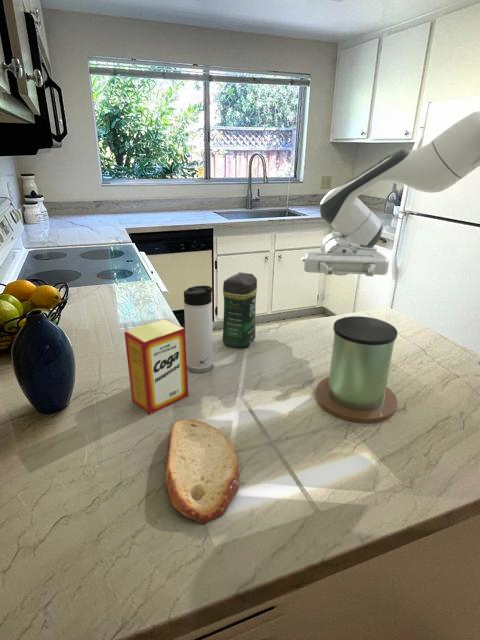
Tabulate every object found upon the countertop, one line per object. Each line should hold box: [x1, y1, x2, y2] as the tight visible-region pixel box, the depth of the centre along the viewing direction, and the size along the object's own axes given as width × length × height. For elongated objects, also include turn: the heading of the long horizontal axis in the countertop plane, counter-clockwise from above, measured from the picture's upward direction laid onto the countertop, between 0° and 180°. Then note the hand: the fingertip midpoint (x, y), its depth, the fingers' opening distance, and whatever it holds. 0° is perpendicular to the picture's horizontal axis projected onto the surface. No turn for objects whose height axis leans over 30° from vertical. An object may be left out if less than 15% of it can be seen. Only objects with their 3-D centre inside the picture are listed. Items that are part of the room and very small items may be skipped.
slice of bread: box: [165, 419, 240, 524], centre depth 65 cm, size 18×18×4 cm
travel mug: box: [183, 285, 214, 374], centre depth 92 cm, size 6×7×20 cm
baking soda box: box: [123, 318, 189, 415], centre depth 81 cm, size 10×6×16 cm
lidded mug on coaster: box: [314, 315, 398, 424], centre depth 80 cm, size 16×18×16 cm
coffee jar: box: [222, 271, 258, 349], centre depth 106 cm, size 10×8×19 cm
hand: (349, 272), depth 93 cm, fingers open, 8 cm apart
